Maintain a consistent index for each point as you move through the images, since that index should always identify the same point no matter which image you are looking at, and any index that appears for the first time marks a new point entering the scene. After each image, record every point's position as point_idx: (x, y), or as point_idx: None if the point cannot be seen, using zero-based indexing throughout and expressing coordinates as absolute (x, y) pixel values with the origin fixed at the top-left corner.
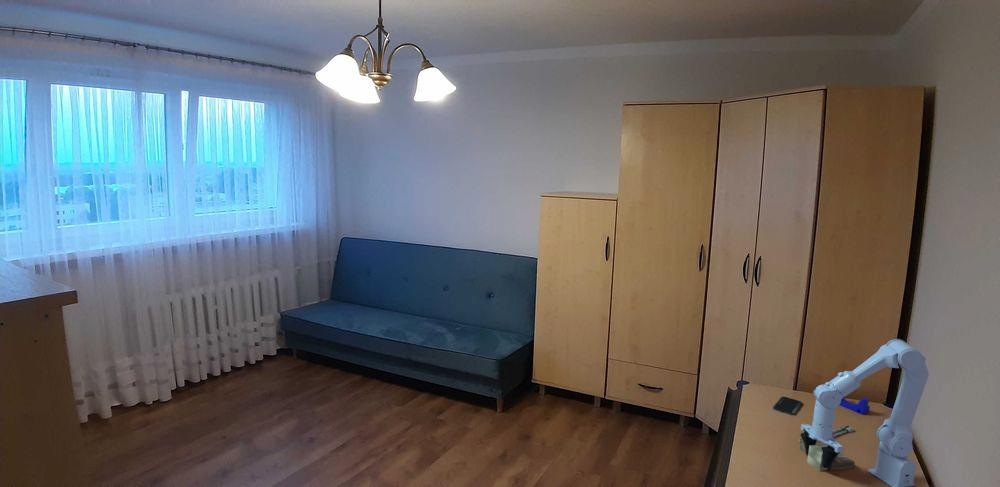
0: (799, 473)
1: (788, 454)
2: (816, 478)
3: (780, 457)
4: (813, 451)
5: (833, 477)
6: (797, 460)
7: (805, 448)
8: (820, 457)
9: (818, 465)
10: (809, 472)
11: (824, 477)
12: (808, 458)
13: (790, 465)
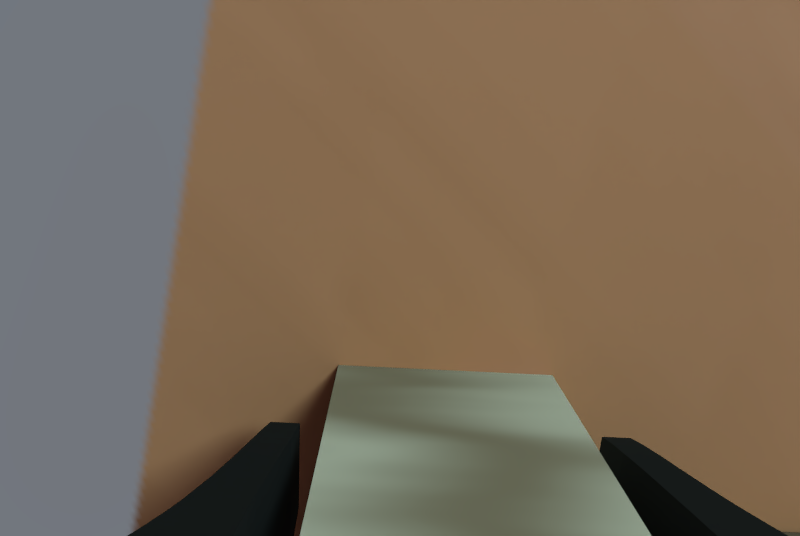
0: (348, 7)
1: (794, 275)
2: (186, 167)
3: (790, 78)
4: (521, 516)
5: (172, 418)
6: (630, 277)
7: (703, 491)
8: (329, 490)
9: (361, 398)
10: (337, 194)
11: (190, 303)
12: (557, 407)
13: (565, 51)
